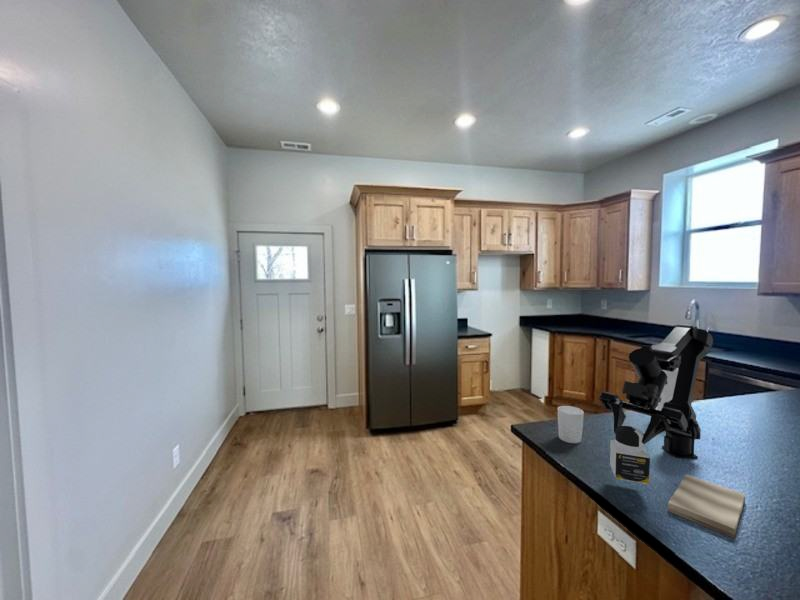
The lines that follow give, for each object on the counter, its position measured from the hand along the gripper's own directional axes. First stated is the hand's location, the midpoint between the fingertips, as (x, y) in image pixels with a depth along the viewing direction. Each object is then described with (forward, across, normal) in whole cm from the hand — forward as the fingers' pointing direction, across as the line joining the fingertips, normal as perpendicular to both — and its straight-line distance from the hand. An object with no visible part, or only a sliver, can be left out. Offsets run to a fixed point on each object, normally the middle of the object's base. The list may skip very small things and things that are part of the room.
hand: (628, 438), depth 86 cm
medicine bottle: (+7, 0, +7) cm, 10 cm away
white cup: (0, -24, +20) cm, 31 cm away
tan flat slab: (+4, +14, +15) cm, 21 cm away
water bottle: (-35, -13, +55) cm, 67 cm away
